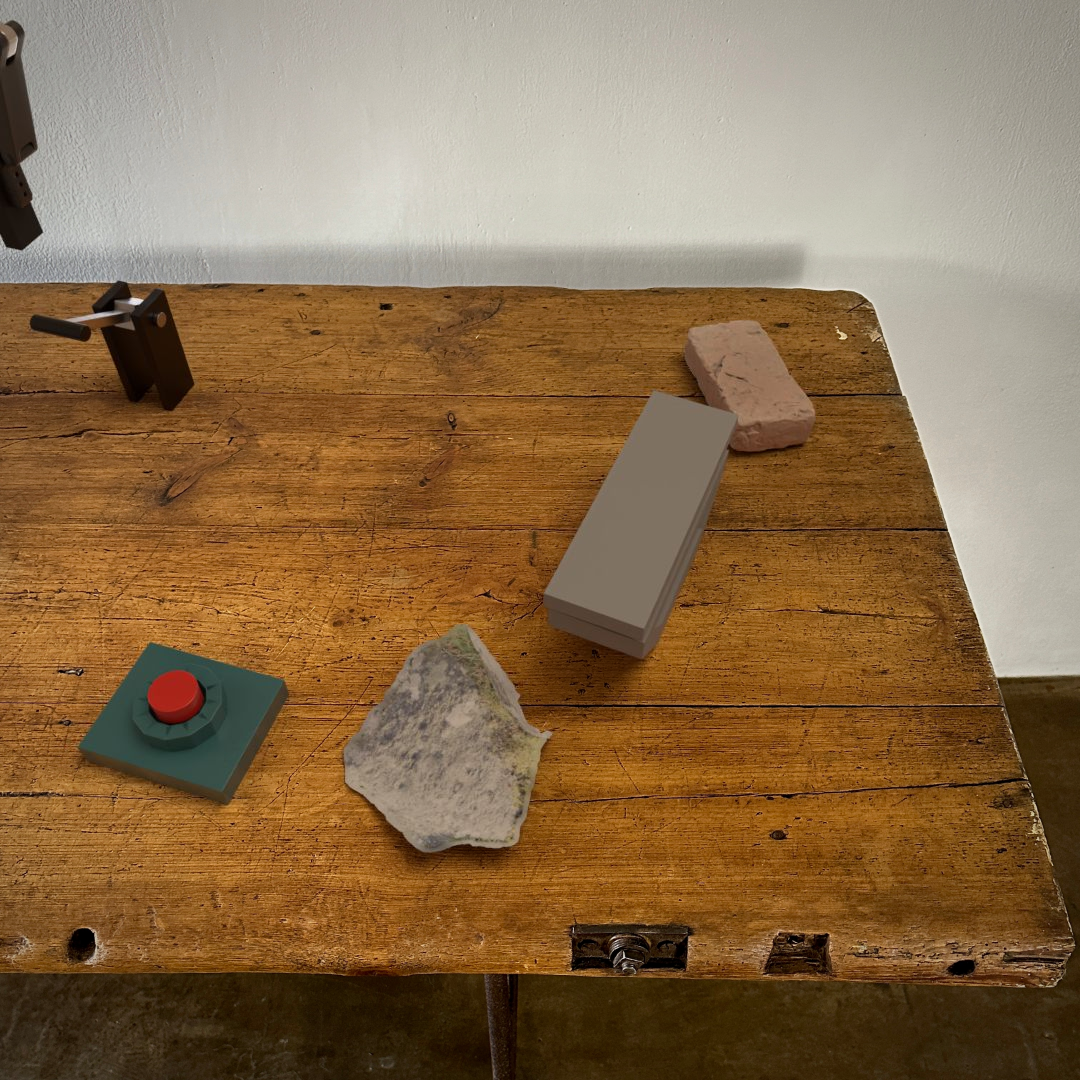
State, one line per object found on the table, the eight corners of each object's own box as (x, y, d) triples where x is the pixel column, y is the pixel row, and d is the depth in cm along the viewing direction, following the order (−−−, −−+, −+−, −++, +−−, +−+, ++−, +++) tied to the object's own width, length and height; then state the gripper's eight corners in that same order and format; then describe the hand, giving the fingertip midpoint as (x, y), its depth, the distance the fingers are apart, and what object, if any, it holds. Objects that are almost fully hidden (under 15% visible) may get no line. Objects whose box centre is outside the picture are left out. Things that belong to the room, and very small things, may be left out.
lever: (80, 348, 82) (80, 320, 82) (29, 337, 83) (28, 309, 82) (166, 329, 93) (166, 304, 93) (120, 319, 94) (119, 294, 93)
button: (144, 716, 72) (137, 704, 71) (170, 677, 75) (164, 664, 73) (187, 729, 72) (181, 717, 70) (212, 689, 74) (206, 677, 73)
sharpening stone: (641, 475, 95) (653, 390, 87) (718, 499, 93) (738, 414, 85) (540, 673, 80) (543, 593, 72) (630, 707, 78) (644, 628, 70)
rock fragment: (463, 648, 82) (461, 609, 78) (605, 772, 74) (610, 735, 70) (320, 758, 74) (309, 721, 71) (460, 907, 67) (457, 875, 63)
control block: (86, 761, 74) (68, 735, 71) (157, 656, 80) (143, 628, 77) (228, 805, 72) (216, 780, 69) (289, 694, 78) (280, 667, 75)
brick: (678, 356, 107) (684, 321, 103) (750, 346, 108) (758, 311, 105) (732, 461, 97) (740, 426, 93) (810, 448, 98) (821, 413, 94)
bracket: (173, 449, 96) (135, 345, 86) (93, 430, 98) (47, 326, 88) (232, 374, 104) (203, 271, 94) (158, 357, 105) (121, 254, 95)
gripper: (5, -113, 60) (124, 229, 78) (-170, -135, 62) (-15, 202, 80) (-79, -73, 55) (68, 281, 73) (-264, -99, 58) (-78, 250, 75)
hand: (24, 239), depth 77 cm, fingers closed
